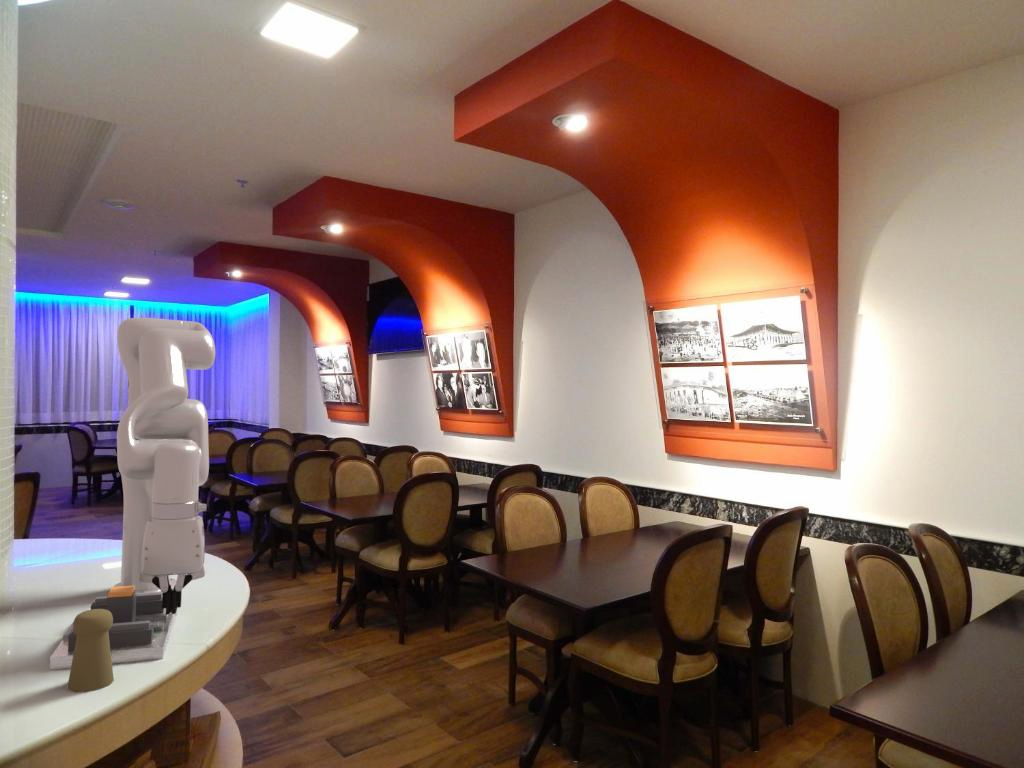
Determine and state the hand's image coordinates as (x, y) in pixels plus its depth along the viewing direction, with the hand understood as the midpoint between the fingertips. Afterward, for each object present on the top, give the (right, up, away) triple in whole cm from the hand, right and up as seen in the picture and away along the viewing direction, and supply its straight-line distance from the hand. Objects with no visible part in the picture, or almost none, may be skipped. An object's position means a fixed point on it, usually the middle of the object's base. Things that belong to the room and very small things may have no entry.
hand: (171, 611), depth 122 cm
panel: (-8, -4, -3) cm, 9 cm away
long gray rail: (-8, -2, -3) cm, 8 cm away
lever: (-8, -2, -3) cm, 8 cm away
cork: (-2, -4, -20) cm, 20 cm away
